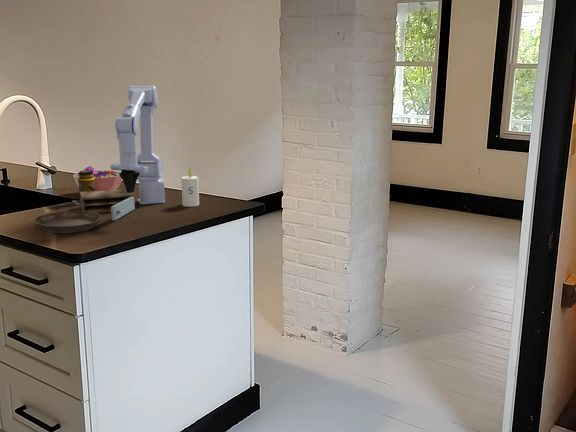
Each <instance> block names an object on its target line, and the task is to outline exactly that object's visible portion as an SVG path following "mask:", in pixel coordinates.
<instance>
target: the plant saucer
mask: <svg viewBox="0 0 576 432" xmlns="http://www.w3.org/2000/svg"><path fill="white" fill-rule="evenodd" d="M102 217H103V215H101V214H100V213H99V212H97V213H94V212H87V211H82V210H67V211H56V212H50V213H45V214H42V215H39V216H37V217H36V218H35V219H34V223H35V224H36V225H37V226H38V228H40V229H42V230H43V231H44V232H47V233H53V234H71V233H72V234H73V232H74V233H79V232H85V231H88V230H91V229H93V228H94V227H96V226H97V225H99V223H100V221H101V220H102Z"/></svg>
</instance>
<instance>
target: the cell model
mask: <svg viewBox="0 0 576 432" xmlns="http://www.w3.org/2000/svg"><path fill="white" fill-rule="evenodd" d="M85 170H91V171H93V175H94V176H93V177H94V178H95V188H96V191H106V190H118V188H119V187H120V185H121V182H122V181H123V180H122V178H121V177H120V176H119V173H120V171H116V170H94V167H92V166H91V165H90V166H87V167H85V168H84V169H83V171H85ZM72 176H73V178H74V180H75V183H76V184H77V186H78V187H79V182H78V179H79V172H76V173H74V174H73V175H72Z"/></svg>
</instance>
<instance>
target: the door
mask: <svg viewBox="0 0 576 432" xmlns="http://www.w3.org/2000/svg"><path fill="white" fill-rule="evenodd" d="M134 209H136V205H135V196H134V197H130V198H128V199H126V200H124V201H122V202H120V203H118V204H116V205H114V206H112V207H111V211H110V212H111V221H116V220H118V219H120V218H122V217H123V216H125V215H127V214H128V213H130V212H132V211H134Z"/></svg>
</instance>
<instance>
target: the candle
mask: <svg viewBox="0 0 576 432" xmlns="http://www.w3.org/2000/svg"><path fill="white" fill-rule="evenodd" d="M180 180H181V195H182V196H181V201H182V202H181V203H182V206H183V207H189V208H191V207H197V206H200V190H199V187H200V186H199V182H200V181H199V177H198V176H196V175H193V171H192V167H191V165H190V164H189V165H188V175H187V176H182V177H181V179H180Z"/></svg>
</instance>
